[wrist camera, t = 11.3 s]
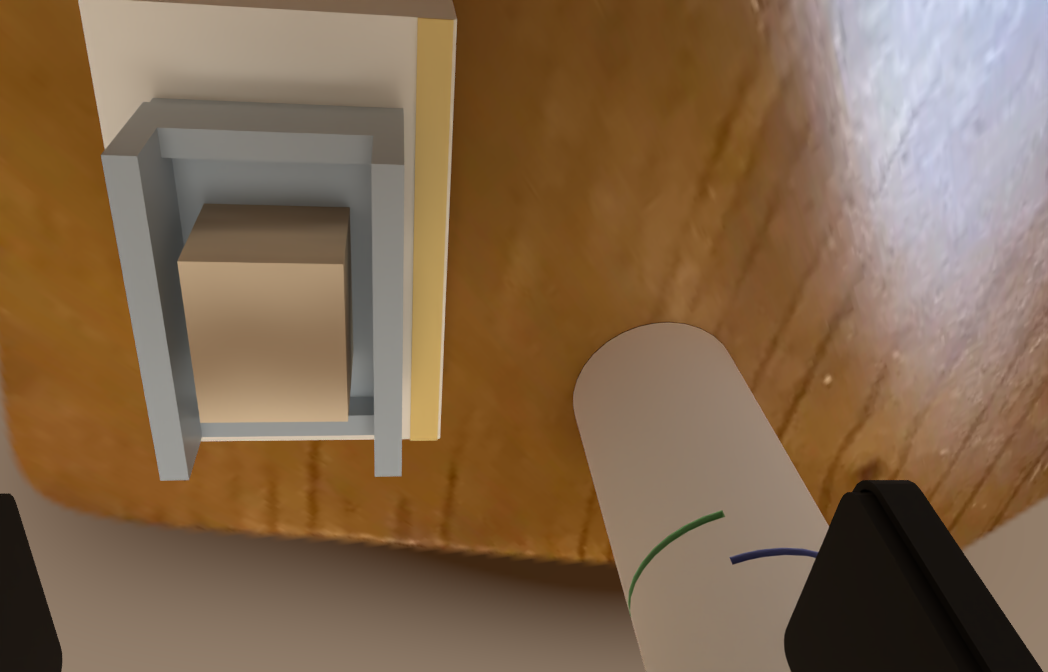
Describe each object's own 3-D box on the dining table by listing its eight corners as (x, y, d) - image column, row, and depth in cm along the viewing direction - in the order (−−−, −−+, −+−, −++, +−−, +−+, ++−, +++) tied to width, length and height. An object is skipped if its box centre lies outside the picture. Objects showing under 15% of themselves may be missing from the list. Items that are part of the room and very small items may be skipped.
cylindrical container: (732, 444, 40) (1104, 1186, 19) (578, 467, 39) (781, 1251, 18) (739, 311, 36) (1217, 1059, 15) (567, 336, 35) (810, 1139, 14)
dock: (118, -31, 26) (76, -2, 23) (450, -9, 28) (457, 20, 24) (180, 377, 34) (156, 443, 31) (435, 376, 36) (440, 440, 32)
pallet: (151, 90, 24) (101, 155, 20) (403, 101, 25) (404, 164, 21) (194, 381, 30) (160, 480, 26) (401, 381, 31) (401, 476, 27)
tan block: (203, 203, 24) (177, 261, 21) (349, 207, 25) (343, 263, 22) (221, 353, 27) (200, 422, 24) (353, 353, 28) (348, 421, 25)
